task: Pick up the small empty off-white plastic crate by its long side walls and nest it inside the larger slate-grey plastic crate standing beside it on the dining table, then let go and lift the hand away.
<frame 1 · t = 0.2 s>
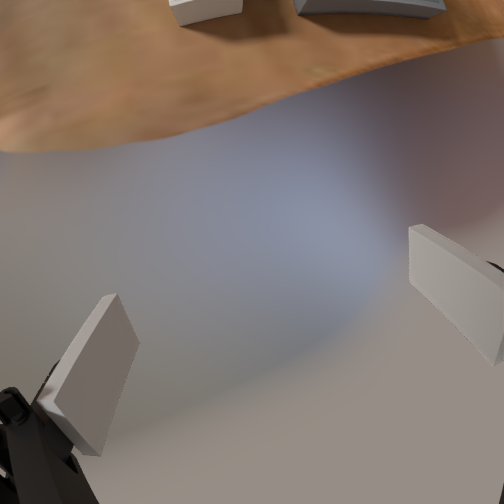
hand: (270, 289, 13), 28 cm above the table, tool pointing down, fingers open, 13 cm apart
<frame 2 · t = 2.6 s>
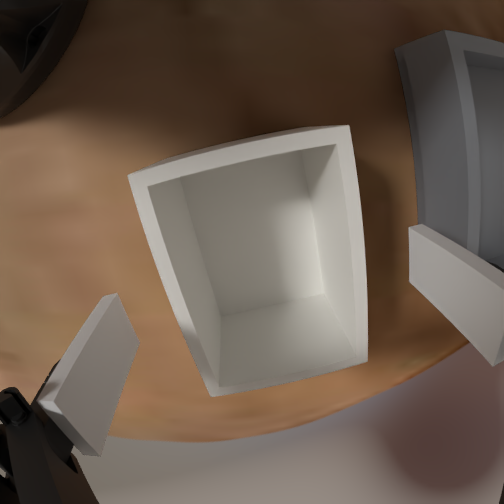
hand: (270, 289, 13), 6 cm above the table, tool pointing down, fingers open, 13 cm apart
white crate: (256, 231, 19), on the table
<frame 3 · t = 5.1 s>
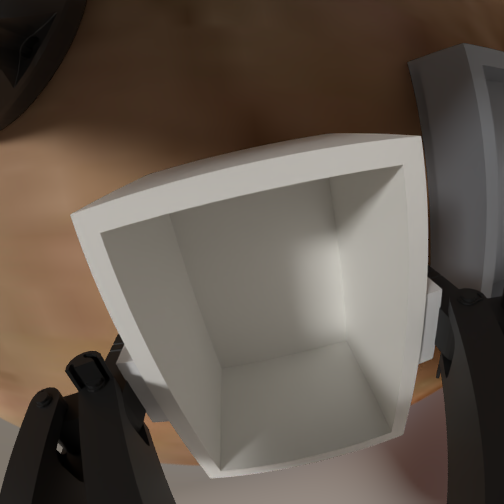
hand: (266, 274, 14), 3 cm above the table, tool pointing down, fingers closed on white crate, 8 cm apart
white crate: (265, 269, 14), point 3 cm above the table, touching gripper
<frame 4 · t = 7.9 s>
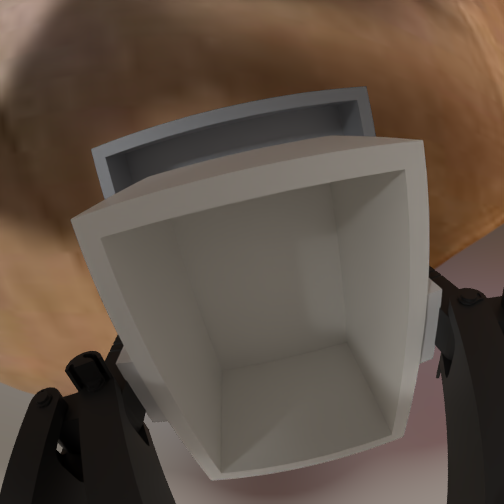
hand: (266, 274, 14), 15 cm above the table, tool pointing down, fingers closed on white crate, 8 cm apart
white crate: (266, 271, 14), point 14 cm above the table, touching gripper
slate crate: (248, 205, 28), on the table
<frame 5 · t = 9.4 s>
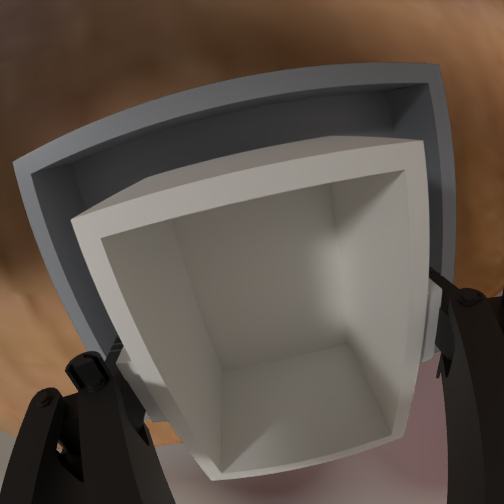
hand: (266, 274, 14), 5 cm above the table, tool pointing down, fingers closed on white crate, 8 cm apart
white crate: (266, 271, 14), point 5 cm above the table, touching gripper
slate crate: (255, 236, 19), on the table
when the fingers open (3 cm above the table, at t = 10.8 s): white crate drops 1 cm, resting on slate crate.
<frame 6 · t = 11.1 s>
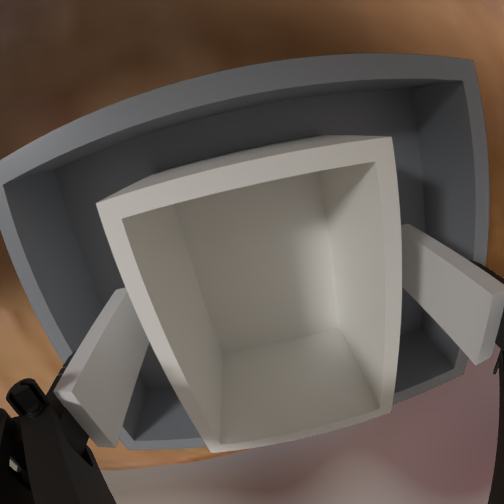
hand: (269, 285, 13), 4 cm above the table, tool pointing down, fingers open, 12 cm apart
white crate: (262, 259, 16), point 1 cm above the table, touching slate crate
slate crate: (261, 253, 17), on the table
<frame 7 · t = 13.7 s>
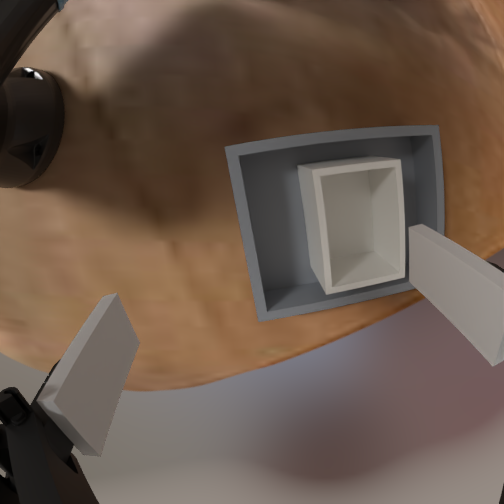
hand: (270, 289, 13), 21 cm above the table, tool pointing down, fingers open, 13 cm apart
white crate: (340, 211, 32), point 1 cm above the table, touching slate crate
slate crate: (338, 209, 33), on the table
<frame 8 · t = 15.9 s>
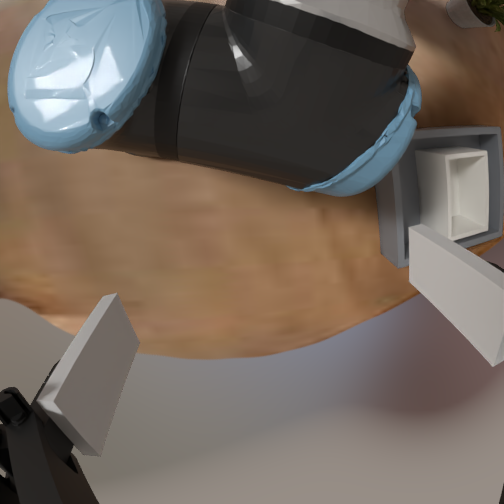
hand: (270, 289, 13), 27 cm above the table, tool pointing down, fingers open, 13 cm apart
house plant: (463, 17, 29), on the table
white crate: (439, 185, 38), point 1 cm above the table, touching slate crate
slate crate: (436, 184, 39), on the table
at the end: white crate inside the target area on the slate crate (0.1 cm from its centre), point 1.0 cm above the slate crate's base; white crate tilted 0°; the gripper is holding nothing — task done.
